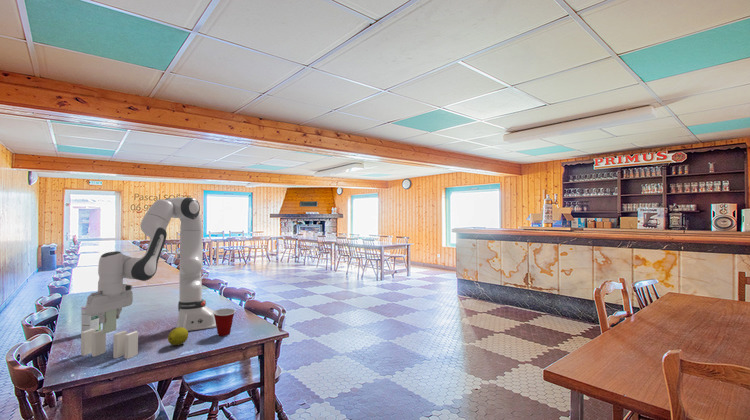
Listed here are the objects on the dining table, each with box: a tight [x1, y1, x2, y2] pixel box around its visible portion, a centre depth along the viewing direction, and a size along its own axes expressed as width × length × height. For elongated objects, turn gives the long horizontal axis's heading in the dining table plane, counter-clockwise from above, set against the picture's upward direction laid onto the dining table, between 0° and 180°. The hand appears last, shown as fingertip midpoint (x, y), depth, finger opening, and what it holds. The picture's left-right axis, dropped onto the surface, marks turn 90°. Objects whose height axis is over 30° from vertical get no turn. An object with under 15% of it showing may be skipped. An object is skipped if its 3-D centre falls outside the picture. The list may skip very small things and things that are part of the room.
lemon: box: [167, 327, 189, 346], centre depth 171 cm, size 11×8×8 cm
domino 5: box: [124, 331, 139, 360], centre depth 157 cm, size 2×5×10 cm, turn 170°
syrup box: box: [80, 305, 102, 332], centre depth 188 cm, size 6×6×14 cm
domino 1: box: [80, 329, 95, 357], centre depth 160 cm, size 2×5×10 cm, turn 170°
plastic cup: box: [213, 307, 236, 337], centre depth 186 cm, size 11×11×12 cm
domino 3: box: [102, 309, 117, 334], centre depth 159 cm, size 2×5×10 cm, turn 170°
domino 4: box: [112, 330, 128, 359], centre depth 158 cm, size 2×5×10 cm, turn 170°
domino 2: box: [91, 328, 107, 357], centre depth 159 cm, size 2×5×10 cm, turn 170°
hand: (109, 320), depth 159 cm, fingers closed on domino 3, 5 cm apart
